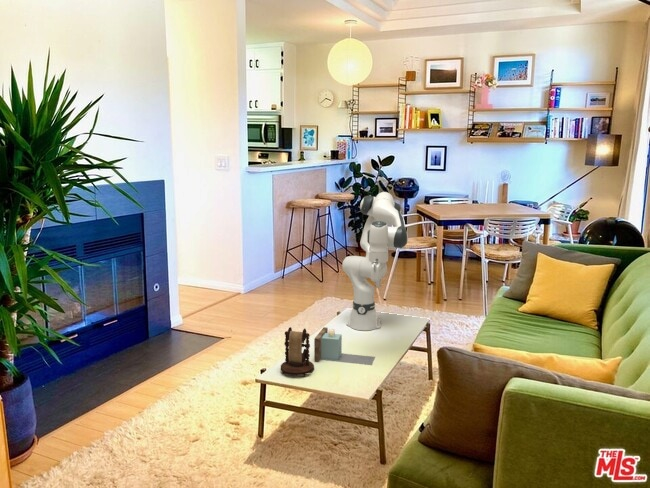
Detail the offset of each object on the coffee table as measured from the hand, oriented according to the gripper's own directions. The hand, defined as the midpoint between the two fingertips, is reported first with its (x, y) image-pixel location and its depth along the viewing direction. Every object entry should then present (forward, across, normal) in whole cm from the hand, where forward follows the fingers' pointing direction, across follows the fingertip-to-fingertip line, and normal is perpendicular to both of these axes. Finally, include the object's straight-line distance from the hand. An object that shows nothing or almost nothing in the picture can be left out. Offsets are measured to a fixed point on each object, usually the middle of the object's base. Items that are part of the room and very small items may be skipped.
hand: (377, 286), depth 249 cm
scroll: (+34, -26, +31) cm, 53 cm away
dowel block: (+33, -8, +20) cm, 40 cm away
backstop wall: (+34, -8, +25) cm, 43 cm away
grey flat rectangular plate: (+34, -8, +12) cm, 37 cm away
